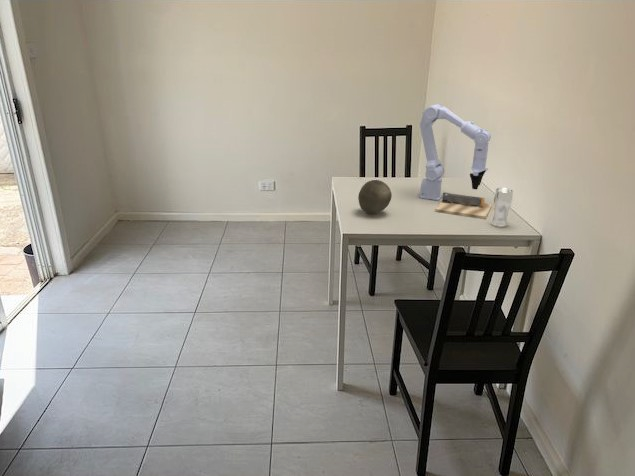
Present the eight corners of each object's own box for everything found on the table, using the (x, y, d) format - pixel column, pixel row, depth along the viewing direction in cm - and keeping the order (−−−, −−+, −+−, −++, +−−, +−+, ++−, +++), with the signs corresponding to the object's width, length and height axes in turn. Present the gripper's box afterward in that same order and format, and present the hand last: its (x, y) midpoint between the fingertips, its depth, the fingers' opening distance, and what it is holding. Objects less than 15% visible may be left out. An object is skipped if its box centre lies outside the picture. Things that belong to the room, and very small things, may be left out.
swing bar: (441, 200, 220) (442, 194, 219) (443, 198, 222) (443, 192, 221) (482, 206, 212) (483, 199, 211) (483, 204, 215) (484, 197, 214)
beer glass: (495, 220, 202) (500, 186, 196) (510, 224, 197) (516, 190, 192) (487, 224, 198) (492, 190, 192) (503, 228, 193) (508, 193, 187)
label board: (434, 211, 212) (435, 207, 212) (443, 200, 227) (444, 196, 226) (485, 219, 203) (486, 215, 203) (491, 206, 218) (492, 203, 217)
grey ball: (364, 220, 203) (366, 186, 197) (353, 209, 215) (354, 177, 209) (395, 217, 206) (397, 184, 200) (382, 206, 219) (384, 175, 213)
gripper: (486, 162, 205) (482, 192, 210) (491, 155, 217) (487, 184, 222) (470, 161, 208) (466, 190, 213) (475, 154, 220) (472, 182, 225)
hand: (476, 187), depth 218 cm, fingers open, 6 cm apart
